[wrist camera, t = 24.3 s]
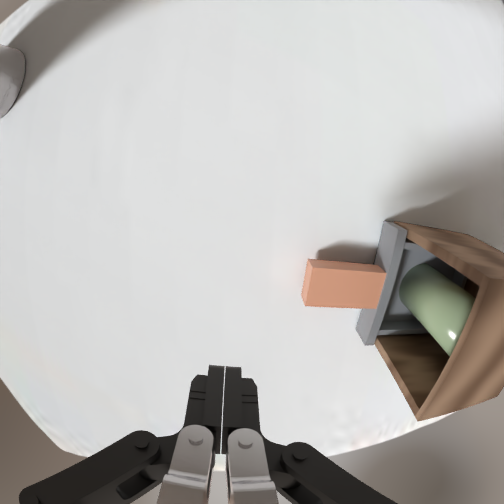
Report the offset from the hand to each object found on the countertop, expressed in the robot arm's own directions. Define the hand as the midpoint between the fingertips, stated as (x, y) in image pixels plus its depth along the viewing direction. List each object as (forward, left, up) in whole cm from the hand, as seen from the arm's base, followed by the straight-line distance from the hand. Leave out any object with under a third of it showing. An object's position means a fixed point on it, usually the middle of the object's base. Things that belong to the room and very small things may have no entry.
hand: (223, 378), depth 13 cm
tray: (+13, +8, -14) cm, 21 cm away
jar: (+16, +10, -13) cm, 23 cm away
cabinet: (+17, +11, -14) cm, 25 cm away
